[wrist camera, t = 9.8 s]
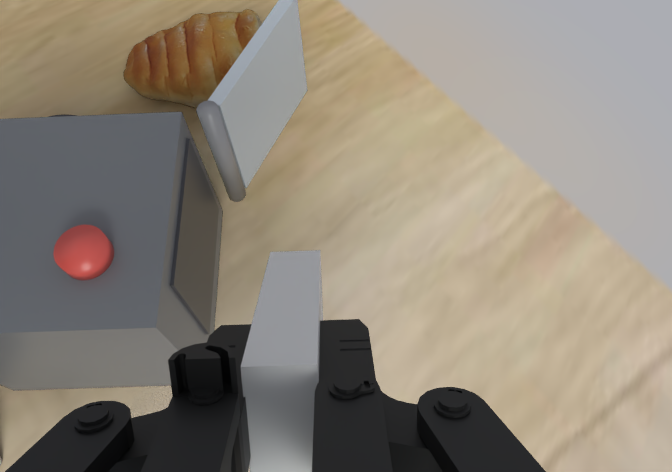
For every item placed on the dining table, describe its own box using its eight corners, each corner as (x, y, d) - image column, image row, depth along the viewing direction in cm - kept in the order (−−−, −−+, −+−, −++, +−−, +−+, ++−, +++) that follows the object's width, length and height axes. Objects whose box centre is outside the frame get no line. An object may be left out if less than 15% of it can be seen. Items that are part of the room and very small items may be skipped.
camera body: (13, 390, 30) (-129, 330, 21) (57, 192, 35) (-41, 79, 26) (213, 384, 30) (153, 320, 21) (227, 186, 35) (183, 69, 26)
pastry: (133, 126, 38) (111, 85, 34) (131, 50, 41) (110, 5, 37) (278, 103, 38) (271, 60, 35) (266, 29, 41) (257, -17, 38)
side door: (309, 92, 37) (299, -6, 30) (240, 204, 33) (211, 120, 27) (291, 86, 37) (276, -13, 30) (220, 196, 33) (186, 111, 27)
